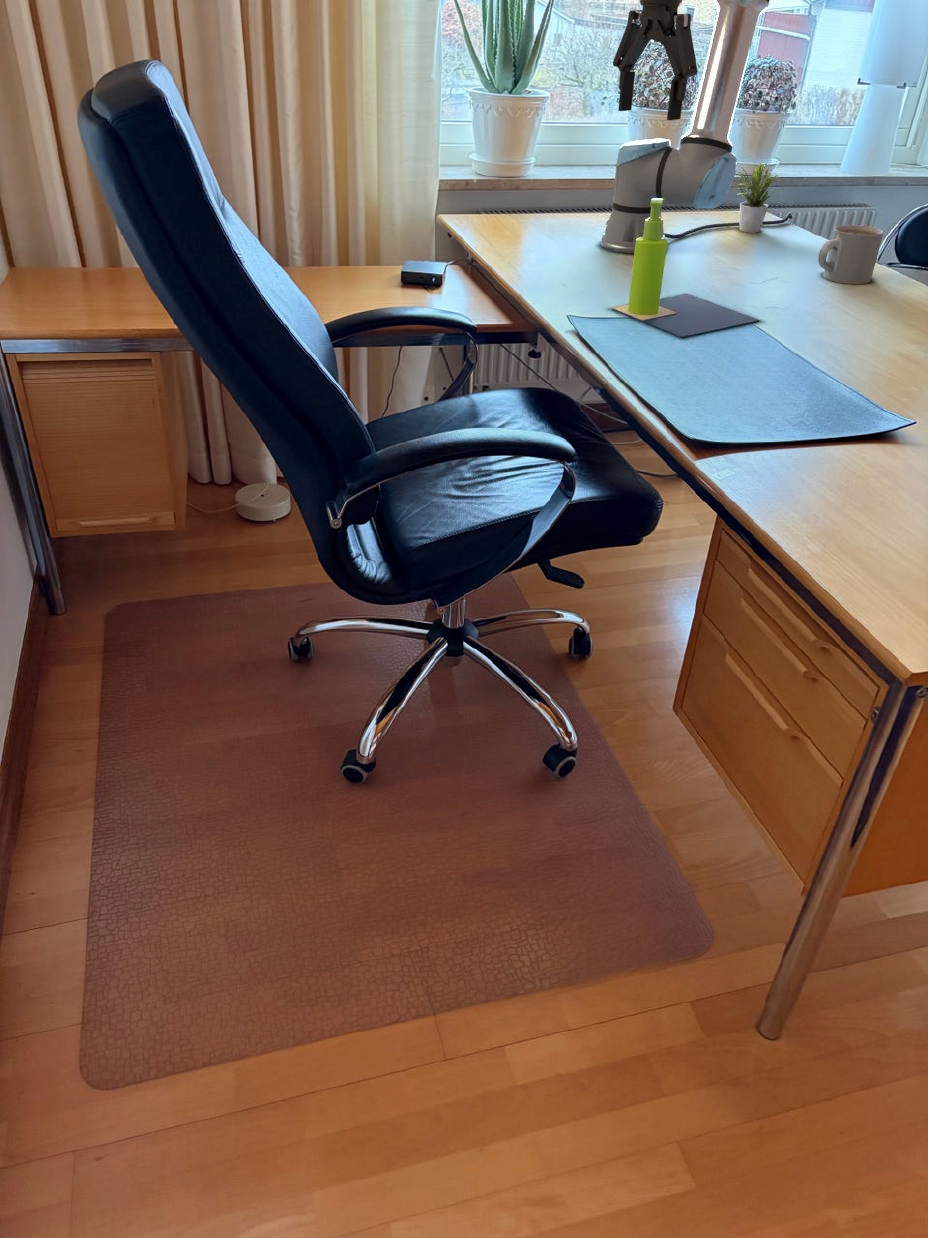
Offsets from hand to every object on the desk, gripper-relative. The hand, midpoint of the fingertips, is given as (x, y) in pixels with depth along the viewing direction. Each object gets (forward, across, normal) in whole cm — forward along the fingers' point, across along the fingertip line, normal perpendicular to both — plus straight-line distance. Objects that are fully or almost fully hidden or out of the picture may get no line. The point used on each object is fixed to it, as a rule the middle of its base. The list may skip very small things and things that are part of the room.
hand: (648, 114), depth 174 cm
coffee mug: (+33, +18, +45) cm, 59 cm away
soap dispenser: (+32, +14, -9) cm, 36 cm away
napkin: (+32, +20, -4) cm, 38 cm away
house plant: (+34, -25, +63) cm, 76 cm away
